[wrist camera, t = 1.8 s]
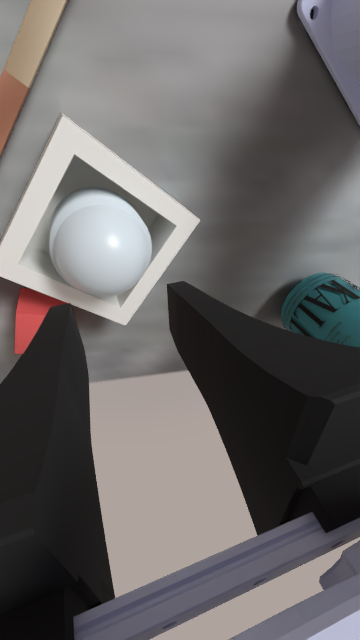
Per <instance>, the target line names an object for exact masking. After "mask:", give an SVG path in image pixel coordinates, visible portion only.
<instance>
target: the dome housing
mask: <svg viewBox="0 0 360 640" xmlns="http://www.w3.org/2000/svg"><path fill="white" fill-rule="evenodd" d="M88 187H99V188H105V189H109V190H111V191H114V192H116V193H118V194H119V195H121V196H122V197H124V198H125V199H126V200H127V201H128V202H129V203H130V204H131V205H132V207H133V208H134V209H135V211H136V212H137V213H138V215H139V216H140V217H141V219H142V220H143V222H144V223H145V225H146V227H147V228H148V231H149V233H150V237H151V242H152V254H151V259H150V262H149V265H148V267H147V269H146V271H145V272H144V274H143V275H142V277H141V278H140V280H139V281H138V282H137V283H136V284H135V285H134V286H133V287H132V288H130V289H129V290H127V291H125V292H123V293H121V294H118V295H113V296H95V295H91V294H88V293H85V292H83V291H80V290H78V289H76V288H74V287H72V286H71V285H69V284H68V283H67V282H66V281H65V280H64V279H63V278H62V277H61V276H60V275H59V274H58V272H57V271H56V269H55V267H54V265H53V263H52V260H51V256H50V249H49V241H50V222H51V218H52V215H53V212H54V210H55V208H56V207H57V205H58V204H59V203H60V202H61V200H62V199H64V198H65V197H66V196H67V195H69V194H70V193H72V192H74V191H76V190H79V189H83V188H88ZM199 222H200V219H198V218H197V217H196V216H195V215H194V214H192V213H191V212H190V211H189V210H188V209H186V208H185V207H184V206H183V205H182V204H180V203H179V202H178V201H177V200H175V199H174V198H173V197H171V196H170V195H169V194H167V193H166V192H165V191H163V190H162V189H161V188H160V187H158V186H157V185H156V184H154V183H153V182H152V181H150V180H149V179H148V178H146V177H145V176H144V175H142V174H141V173H140V172H139V171H137V170H136V169H135V168H133V167H132V166H131V165H129V164H128V163H127V162H125V161H124V160H123V159H122V158H120V157H119V156H118V155H116V154H115V153H114V152H112V151H111V150H110V149H108V148H107V147H106V146H105V145H103V144H102V143H101V142H99V141H98V140H97V139H95V138H94V137H93V136H91V135H90V134H89V133H88V132H86V131H85V130H84V129H82V128H81V127H80V126H78V125H77V124H76V123H74V122H73V121H72V120H70V119H69V118H68V117H67V116H65V115H64V114H63V113H61V114H60V116H59V118H58V120H57V122H56V125H55V127H54V129H53V131H52V133H51V135H50V137H49V139H48V141H47V143H46V146H45V148H44V150H43V152H42V154H41V156H40V158H39V160H38V162H37V164H36V167H35V169H34V171H33V173H32V175H31V177H30V179H29V181H28V183H27V185H26V188H25V190H24V192H23V194H22V196H21V198H20V200H19V202H18V204H17V206H16V209H15V211H14V213H13V215H12V217H11V219H10V221H9V223H8V225H7V227H6V230H5V232H4V234H3V236H2V238H1V240H0V277H3V278H5V279H8V280H10V281H13V282H16V283H18V284H21V285H23V286H26V287H28V288H31V289H33V290H36V291H38V292H41V293H44V294H46V295H49V296H51V297H54V298H56V299H59V300H61V301H64V302H67V303H71V304H72V305H74V306H77V307H79V308H82V309H84V310H87V311H89V312H92V313H95V314H97V315H100V316H102V317H105V318H107V319H110V320H112V321H115V322H118V323H120V324H123V325H125V326H126V324H127V323H128V322H129V320H130V319H131V317H132V316H133V315H134V313H135V312H136V310H137V309H138V307H139V306H140V305H141V303H142V302H143V300H144V299H145V298H146V296H147V295H148V293H149V292H150V291H151V289H152V288H153V286H154V285H155V284H156V282H157V281H158V279H159V278H160V277H161V275H162V274H163V272H164V271H165V269H166V268H167V267H168V265H169V264H170V262H171V261H172V260H173V258H174V257H175V255H176V254H177V253H178V251H179V250H180V248H181V247H182V246H183V244H184V243H185V241H186V240H187V239H188V237H189V236H190V234H191V233H192V231H193V230H194V229H195V227H196V226H197V224H198V223H199Z"/></svg>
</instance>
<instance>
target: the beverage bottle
mask: <svg viewBox="0 0 360 640" xmlns="http://www.w3.org/2000/svg"><path fill="white" fill-rule="evenodd" d="M336 275H337V274H336ZM341 278H342V277H341ZM341 278H339V277H337V276H335V275H332V274H328V273H318V274H314V275H311V276H309V277H307V278H306V279H304V280H303V281H301V282H300V283H299V284H297V285H296V286H295V287H294V288H293V289H292V291H291V292H290V293H289V294H288V296H287V297H286V299H285V301H284V303H283V306H282V310H281V318H282V321H283V325H285V327H286V328H287V329H288V330H289V331H291V332H294V333H298V334H301V335H304V336H308V337H312V338H316V339H320V340H324V341H329V342H334V343H338V344H343V345H348V346H354V347H360V290H359V289H357V287H356V285H355V287H356V288H355V287H354V285H353V286H352V284H350V283H351V282H350V283H347V282H345V281H344V280H345V278H344V280H342V279H341ZM346 281H347V280H346ZM348 282H349V281H348ZM285 327H284V328H285Z"/></svg>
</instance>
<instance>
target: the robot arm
mask: <svg viewBox="0 0 360 640" xmlns="http://www.w3.org/2000/svg"><path fill="white" fill-rule="evenodd" d="M311 9H313V11H314V15H313V18H312V19H311V18H310V11H311ZM297 13H298V16H299V18H300V20H301V21H302V23H303V25H304V27H305V29H306V30H307V32H308V34H309V36H310V38H311V39H312V41H313V43H314V45H315V47H316V48H317V50H318V52H319V54H320V56H321V57H322V59H323V61H324V63H325V65H326V66H327V68H328V70H329V72H330V74H331V75H332V77H333V79H334V81H335V83H336V84H337V86H338V88H339V90H340V92H341V93H342V95H343V97H344V99H345V101H346V102H347V104H348V106H349V108H350V110H351V111H352V113H353V115H354V117H355V119H356V120H357V122H358V124H359V126H360V0H298V3H297ZM167 293H168V310H169V326H170V331H171V334H172V337H173V340H174V342H175V345H176V347H177V350H178V352H179V354H180V356H181V358H182V359H183V361H184V363H185V365H186V367H187V369H188V370H189V372H190V373H191V376H192V378H193V379H194V381H195V383H196V385H197V386H198V388H199V390H200V392H201V394H202V396H203V397H204V399H205V401H206V403H207V405H208V407H209V410H210V412H211V414H212V417H213V419H214V421H215V424H216V426H217V429H218V431H219V433H220V436H221V438H222V441H223V443H224V445H225V448H226V451H227V453H228V456H229V458H230V461H231V464H232V466H233V469H234V471H235V474H236V477H237V479H238V482H239V484H240V487H241V490H242V492H243V495H244V498H245V501H246V504H247V507H248V509H249V512H250V515H251V518H252V521H253V524H254V527H255V529H256V532H257V535H258V536H256V537H254V538H251V539H249V540H247V541H245V542H243V543H240V544H238V545H235V546H233V547H231V548H229V549H226V550H224V551H222V552H219V553H217V554H215V555H213V556H210V557H208V558H206V559H204V560H201V561H199V562H197V563H194V564H192V565H190V566H188V567H185V568H183V569H181V570H179V571H176V572H174V573H172V574H170V575H167V576H165V577H163V578H160V579H158V580H156V581H154V582H152V583H149V584H147V585H145V586H143V587H140V588H138V589H135V590H133V591H131V592H129V593H126V594H124V595H122V596H120V597H117V598H115V595H114V589H113V583H112V577H111V571H110V565H109V559H108V553H107V547H106V542H105V534H104V528H103V522H102V516H101V509H100V502H99V496H98V488H97V482H96V475H95V468H94V461H93V454H92V446H91V434H90V407H89V406H90V405H89V377H88V369H87V362H86V356H85V350H84V346H83V343H82V340H81V337H80V333H79V330H78V327H77V323H76V320H75V317H74V313H73V310H72V307H71V303H68V304H63V305H57V306H52V307H50V309H49V310H48V312H47V314H46V316H45V318H44V319H43V321H42V323H41V325H40V327H39V328H38V330H37V332H36V334H35V335H34V337H33V339H32V340H31V342H30V344H29V345H28V347H27V348H26V350H25V351H24V353H23V354H22V356H21V357H20V359H19V360H18V362H17V363H16V364H15V366H14V367H13V369H12V370H11V371H10V373H9V374H8V375H7V377H6V378H5V379H4V380H3V382H2V383H1V384H0V640H149V639H151V638H153V637H155V636H157V635H159V634H161V633H163V632H166V631H168V630H170V629H172V628H174V627H176V626H178V625H180V624H182V623H184V622H186V621H188V620H190V619H192V618H194V617H196V616H198V615H200V614H202V613H205V612H207V611H209V610H211V609H213V608H215V607H217V606H219V605H221V604H223V603H225V602H227V601H229V600H231V599H233V598H235V597H237V596H239V595H242V594H244V593H246V592H248V591H250V590H252V589H254V588H256V587H258V586H260V585H262V584H264V583H266V582H268V581H270V580H272V579H274V578H276V577H278V576H281V575H282V574H284V573H287V572H289V571H291V570H293V569H295V568H297V567H299V566H301V565H303V564H305V563H307V562H309V561H311V560H313V559H315V558H317V557H319V556H321V555H324V554H326V553H328V552H330V551H332V550H334V549H336V548H338V547H340V546H342V545H344V544H346V543H348V542H350V541H352V540H354V539H356V538H358V537H360V347H354V346H348V345H343V344H338V343H334V342H329V341H324V340H320V339H316V338H312V337H308V336H304V335H301V334H298V333H294V332H291V331H287V330H284V329H281V328H278V327H275V326H273V325H270V324H267V323H265V322H262V321H259V320H257V319H255V318H252V317H250V316H248V315H245V314H243V313H241V312H239V311H237V310H235V309H233V308H231V307H229V306H227V305H225V304H223V303H221V302H219V301H218V300H216V299H214V298H212V297H211V296H209V295H207V294H205V293H204V292H202V291H200V290H198V289H197V288H195V287H193V286H192V285H190V284H188V283H186V282H184V281H181V282H176V283H171V284H167ZM319 582H320V584H321V586H322V587H323V590H324V591H322V592H320V593H318V594H316V595H314V596H312V597H310V598H308V599H306V600H304V601H302V602H300V603H298V604H296V605H294V606H292V607H290V608H288V609H286V610H284V611H282V612H280V613H278V614H276V615H274V616H272V617H271V618H269V619H267V620H265V621H263V622H261V623H259V624H257V625H255V626H253V627H251V628H249V629H248V630H246V631H244V632H242V633H240V634H238V635H236V636H234V637H232V638H231V639H229V640H360V541H358V542H357V543H355V544H353V545H352V546H350V547H349V548H347V549H345V550H344V551H343V553H342V555H341V558H340V559H339V560H338V561H337V562H336V563H335V564H334V565H333V566H332V567H331V568H330V569H329V570H328V571H326V572H325V573H324V574H323V575H322V576H320V580H319Z"/></svg>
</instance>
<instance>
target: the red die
mask: <svg viewBox="0 0 360 640" xmlns="http://www.w3.org/2000/svg"><path fill="white" fill-rule="evenodd" d="M63 304H68V303H67V302H64V301H61V300H59V299H56V298H54V297H51V296H49V295H46V294H44V293H41V292H38V291H36V290H33V289H27V288H20V293H19V299H18V304H17V310H16V327H15V354H23V353H24V351H25V350H26V348H27V347H28V345H29V344H30V342H31V340H32V339H33V337H34V335H35V334H36V332H37V330H38V328H39V327H40V325H41V323H42V321H43V319H44V318H45V316H46V314H47V312H48V310H49V309H50V307H52V306H57V305H63Z"/></svg>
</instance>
